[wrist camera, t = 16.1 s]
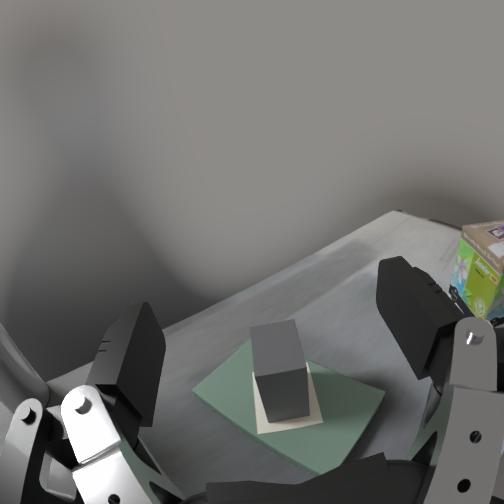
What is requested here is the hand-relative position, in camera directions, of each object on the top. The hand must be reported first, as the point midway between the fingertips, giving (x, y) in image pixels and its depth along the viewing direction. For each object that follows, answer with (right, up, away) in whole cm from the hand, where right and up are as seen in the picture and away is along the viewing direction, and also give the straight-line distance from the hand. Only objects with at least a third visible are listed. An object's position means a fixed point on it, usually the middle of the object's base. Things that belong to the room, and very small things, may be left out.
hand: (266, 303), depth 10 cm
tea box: (+37, -9, +23) cm, 44 cm away
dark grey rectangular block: (+3, -15, +20) cm, 25 cm away
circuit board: (+4, -16, +21) cm, 27 cm away
